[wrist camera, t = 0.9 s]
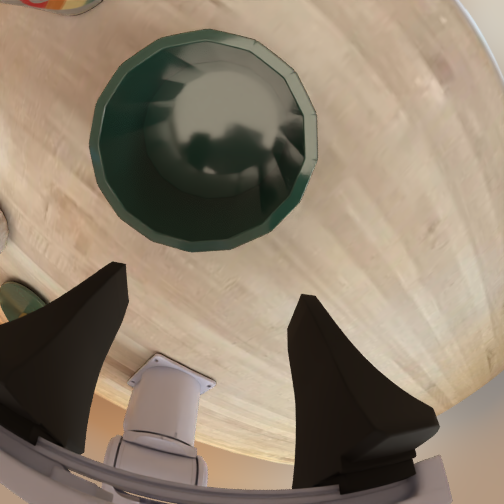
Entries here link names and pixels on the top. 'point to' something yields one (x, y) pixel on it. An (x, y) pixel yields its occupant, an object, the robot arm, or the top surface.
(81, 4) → the spray bottle
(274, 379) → the top surface
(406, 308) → the top surface
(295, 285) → the top surface
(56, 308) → the robot arm
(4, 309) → the lid
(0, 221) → the garlic
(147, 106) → the pot
